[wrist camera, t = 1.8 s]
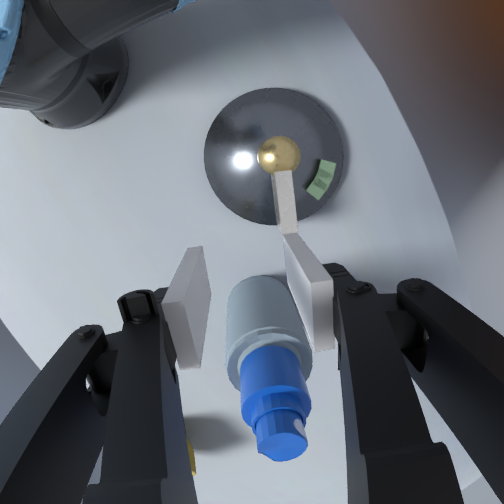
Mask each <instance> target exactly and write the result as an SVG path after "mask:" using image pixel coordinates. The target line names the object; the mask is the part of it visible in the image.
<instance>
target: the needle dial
mask: <svg viewBox="0 0 504 504" xmlns="http://www.w3.org/2000/svg"><path fill="white" fill-rule="evenodd" d="M257 159H258V163H259V165H260V166H261V168H262V169H263V170H264V171H266V172H268V173H270V174H271V181H272V189H273V197H274V205H275V213H276V221H277V227H278V228H279V230H280V232H281V234H289V233H296V232H298V225H297V216H296V206H295V197H294V188H293V180H292V172H293V171H295V169H296V168H297V167H298V165H299V162H300V150H299V148H298V146H297V144H296V143H295V142H294V141H293V140H291V139H290V138H288V137H285V136H275V137H272V138H270V139H268V140H266V141H264V142H263V143H262V144H261V146H260V147H259V149H258V152H257Z"/></svg>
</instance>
